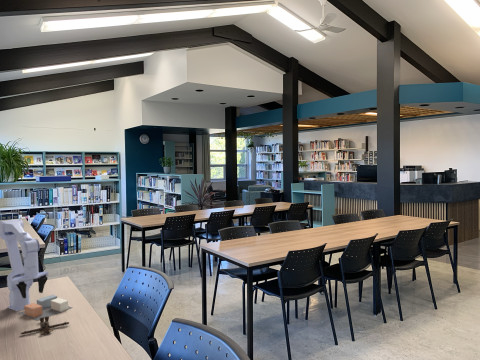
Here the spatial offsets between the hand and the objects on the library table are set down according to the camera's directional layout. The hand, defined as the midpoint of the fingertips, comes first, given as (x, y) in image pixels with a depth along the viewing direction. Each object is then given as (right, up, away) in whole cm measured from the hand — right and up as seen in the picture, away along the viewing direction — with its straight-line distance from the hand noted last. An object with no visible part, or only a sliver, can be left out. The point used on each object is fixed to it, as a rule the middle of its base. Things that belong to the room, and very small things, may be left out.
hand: (32, 295), depth 168 cm
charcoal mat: (+4, -9, +5) cm, 11 cm away
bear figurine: (+13, -10, -14) cm, 22 cm away
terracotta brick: (0, -9, 0) cm, 9 cm away
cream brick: (+9, -9, +6) cm, 14 cm away
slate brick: (+1, -9, +10) cm, 14 cm away
